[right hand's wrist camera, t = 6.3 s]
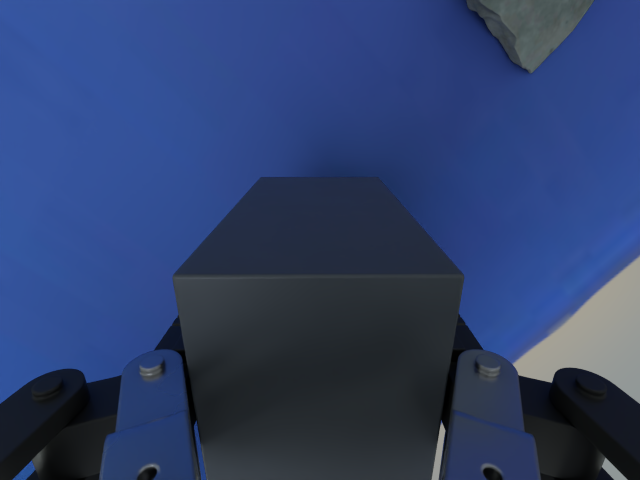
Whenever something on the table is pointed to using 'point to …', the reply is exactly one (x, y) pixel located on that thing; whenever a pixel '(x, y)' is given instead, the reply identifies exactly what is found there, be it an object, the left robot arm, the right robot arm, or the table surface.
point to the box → (318, 334)
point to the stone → (530, 25)
